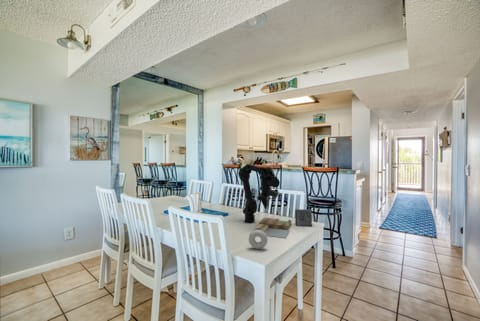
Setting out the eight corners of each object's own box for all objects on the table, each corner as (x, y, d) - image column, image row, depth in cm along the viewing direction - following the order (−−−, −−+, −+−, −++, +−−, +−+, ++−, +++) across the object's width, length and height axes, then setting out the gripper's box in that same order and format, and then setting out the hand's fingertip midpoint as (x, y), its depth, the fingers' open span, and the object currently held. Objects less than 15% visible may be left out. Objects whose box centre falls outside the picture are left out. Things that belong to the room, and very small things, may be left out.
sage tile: (278, 223, 156) (278, 220, 155) (281, 219, 163) (281, 217, 163) (287, 224, 153) (287, 221, 153) (289, 220, 161) (289, 218, 161)
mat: (250, 233, 143) (250, 233, 143) (256, 227, 156) (256, 226, 156) (285, 238, 135) (285, 237, 135) (289, 231, 148) (289, 230, 148)
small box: (310, 223, 164) (310, 209, 164) (312, 226, 158) (312, 211, 157) (295, 223, 165) (295, 208, 165) (296, 226, 159) (296, 211, 158)
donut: (248, 249, 119) (248, 230, 119) (249, 246, 123) (249, 228, 123) (267, 250, 118) (267, 231, 118) (267, 248, 121) (267, 229, 121)
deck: (258, 227, 157) (258, 222, 156) (264, 221, 170) (264, 217, 170) (288, 230, 149) (288, 225, 149) (291, 224, 162) (291, 220, 162)
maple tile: (256, 230, 149) (256, 227, 149) (260, 226, 156) (259, 224, 156) (265, 231, 146) (265, 228, 146) (268, 227, 154) (268, 225, 154)
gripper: (274, 188, 142) (274, 213, 143) (280, 184, 159) (280, 206, 160) (257, 187, 146) (257, 211, 147) (265, 183, 164) (265, 205, 164)
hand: (265, 208), depth 154 cm, fingers closed
